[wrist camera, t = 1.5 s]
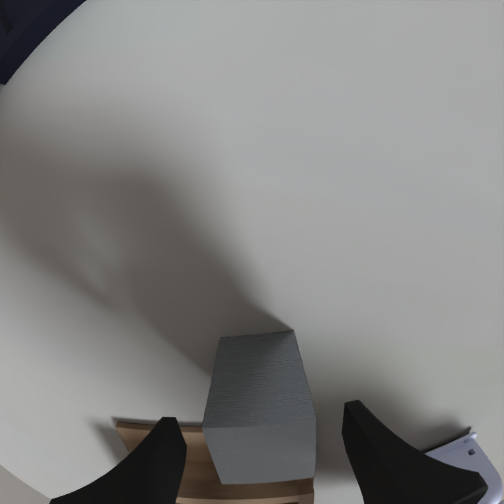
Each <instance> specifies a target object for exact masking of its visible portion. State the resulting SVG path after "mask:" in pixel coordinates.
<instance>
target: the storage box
mask: <svg viewBox="0 0 504 504" xmlns="http://www.w3.org/2000/svg"><path fill="white" fill-rule="evenodd" d="M85 1H86V0H0V83H1V84H4V85H6V83H7V82H8V81H9V80H10V78H11V77H12V76H13V74H14V73H15V72H16V71H17V69H18V68H19V67H20V66H21V65H22V63H23V62H24V61H25V60H26V59H27V57H28V56H29V55H30V54H31V53H32V52H33V51H34V50H35V48H36V47H37V46H38V45H39V44H40V43H41V42H42V41H43V40H44V39H45V38H46V37H47V36H48V35H49V34H50V33H51V32H52V31H53V30H54V29H55V28H56V27H57V26H58V25H59V24H60V23H61V22H62V21H63V20H64V19H65V18H66V17H67V16H69V15H70V14H71V13H72V12H73V11H74V10H75V9H76V8H78V7H79V6H80V5H81V4H82V3H83V2H85Z"/></svg>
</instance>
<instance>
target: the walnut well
mask: <svg viewBox="0 0 504 504" xmlns="http://www.w3.org/2000/svg"><path fill="white" fill-rule="evenodd" d="M154 426H155V425H144V424H133V423H123V422H118V423H117V425H116V429H117V431H118V433H119V435H120V437H121V438H122V440H123V442H124V444H125V446H126V447H127V449H128V451H129V452H130V453H131V452H132V451H133V450H134V449H135V448H136V447H137V446H138V445H139V444H140V442H141V441H142V440H143V439H144V438H145V437H146V436H147V435H148V433H149V432H150V431H151V430H152V429H153V428H154ZM179 427H180V430H181V432H182V435H183V437H184V440H185V442H186V444H187V453H186V462H185V468H184V472H183V476H182V480H181V484H180V488H179V491H178V495H177V499H176V503H175V504H314V489H313V481H314V477H312V478H305V479H298V480H290V481H280V482H269V483H253V484H222V483H221V481H220V478H219V475H218V473H217V470H216V468H215V465H214V462H213V459H212V457H211V454H210V451H209V448H208V445H207V443H206V440H205V437H204V434H203V431H202V427H181V426H179Z"/></svg>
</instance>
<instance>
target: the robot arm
mask: <svg viewBox="0 0 504 504" xmlns="http://www.w3.org/2000/svg"><path fill="white" fill-rule="evenodd" d="M476 435H477V433H476V432H472V433H470V434H468V435H466V436H464V437H462V438H459V439H457V440H455V441H453V442H451V443H448V444H446V445H444V446H441V447H439V448H437V449H434V450H432V451H429V452H427V453H422V452H420V451H419V450H417V449H415V448H414V447H412V446H411V445H409V444H408V443H406V442H405V441H403V440H402V439H401V438H399V437H398V436H397V435H395V434H394V433H393V432H392V431H391V430H389V429H388V428H387V427H386V426H385V425H384V424H383V423H381V422H380V421H379V420H378V419H377V418H376V417H375V416H374V415H373V414H372V413H371V412H370V411H369V410H368V409H367V408H366V407H365V406H364V405H363V403H362V402H361V401H359V400H355V401H350V402H345V405H344V417H343V427H342V436H343V440H344V445H345V449H346V453H347V455H348V458H349V461H350V463H351V466H352V468H353V471H354V474H355V476H356V479H357V482H358V484H359V487H360V490H361V493H362V496H363V500H364V504H498V503H499V502H500V500H501V497H502V493H503V487H502V481H501V478H500V475H499V473H498V472H497V470H496V469H495V467H494V466H493V465H492V463H491V462H490V460H489V459H488V457H487V456H486V455H485V453H484V452H483V450H482V449H481V448H480V446H479V445H478V443H477V442H476V441H475V437H476ZM186 453H187V444H186V442H185V440H184V437H183V435H182V432H181V430H180V427H179V425H178V422H177V419H176V417H162V418H161V419H160V421H159V422H158V423H157V424H156V425H155V426H154V428H153V429H152V430H151V431H150V432H149V433H148V435H147V436H146V437H145V438H144V439H143V440H142V441H141V442H140V444H139V445H138V446H137V447H136V448H135V449H134V450H133V451H132V452H131V453H130V454H129V455H128V456H127V457H126V458H125V459H124V460H122V461H121V462H120V463H119V464H118V465H117V466H115V467H114V468H113V469H112V470H110V471H109V472H108V473H106V474H105V475H103V476H102V477H100V478H98V479H97V480H95V481H94V482H92V483H90V484H88V485H87V486H85V487H83V488H80V489H78V490H76V491H74V492H71V493H69V494H66V495H63V496H60V497H57V498H54V499H52V500H51V501H50V503H49V504H175V503H176V499H177V495H178V491H179V488H180V484H181V480H182V476H183V472H184V468H185V462H186ZM500 504H504V501H503V502H501V503H500Z"/></svg>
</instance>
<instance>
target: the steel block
mask: <svg viewBox="0 0 504 504" xmlns="http://www.w3.org/2000/svg"><path fill="white" fill-rule="evenodd" d="M316 426H317V418H316V414H315V410H314V406H313V402H312V398H311V394H310V391H309V387H308V383H307V379H306V375H305V371H304V367H303V363H302V359H301V356H300V352H299V348H298V344H297V340H296V337H295V333H294V330H291V331H283V332H274V333H265V334H256V335H245V336H234V337H222V338H220V342H219V347H218V352H217V357H216V361H215V366H214V371H213V375H212V380H211V385H210V390H209V394H208V399H207V404H206V409H205V414H204V419H203V424H202V431H203V434H204V437H205V440H206V443H207V445H208V448H209V451H210V454H211V457H212V459H213V462H214V465H215V468H216V470H217V473H218V475H219V478H220V481H221V483H222V484H253V483H269V482H280V481H290V480H298V479H305V478H312V477H315V461H316Z"/></svg>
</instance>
